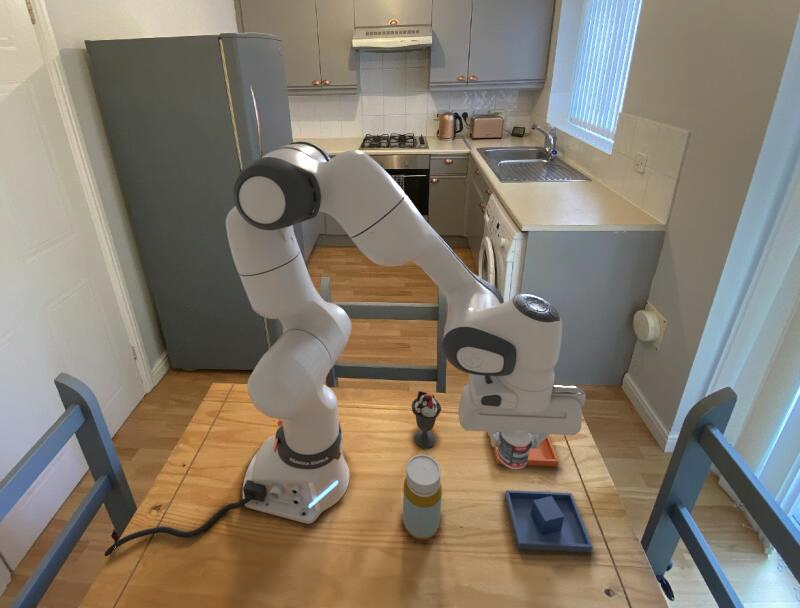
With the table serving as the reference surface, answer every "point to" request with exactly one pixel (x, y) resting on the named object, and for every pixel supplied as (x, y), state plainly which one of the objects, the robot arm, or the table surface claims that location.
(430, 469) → the bottle
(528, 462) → the orange tray
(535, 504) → the blue block
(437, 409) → the sundae
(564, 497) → the blue tray
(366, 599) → the table surface
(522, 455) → the pill bottle
